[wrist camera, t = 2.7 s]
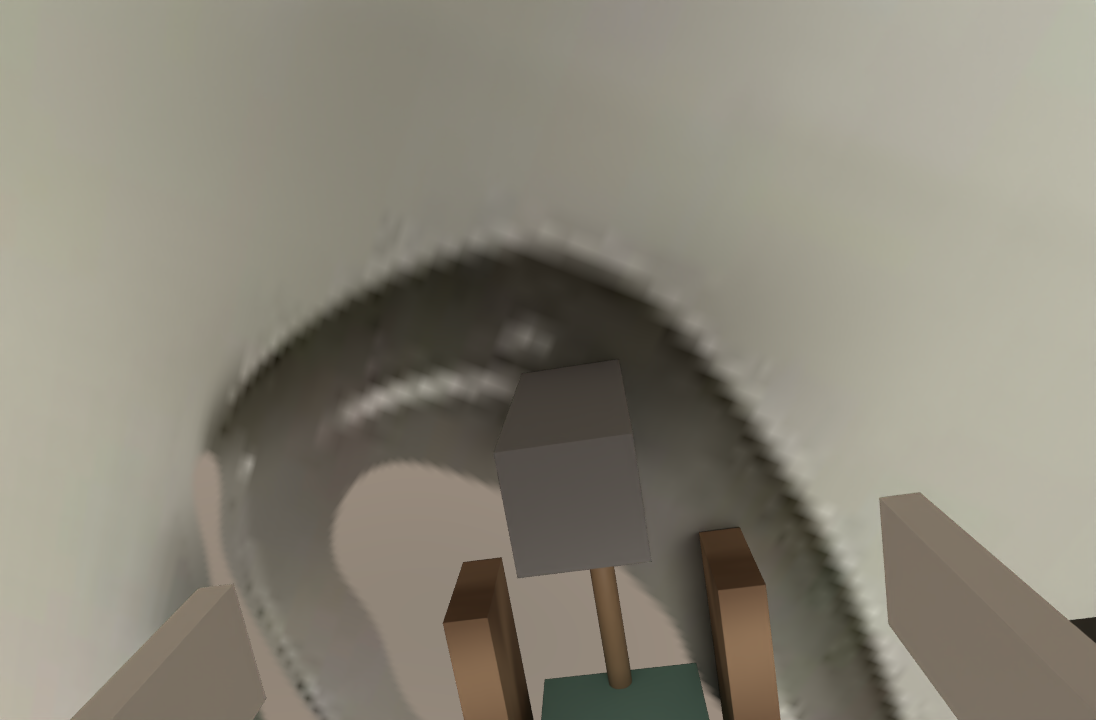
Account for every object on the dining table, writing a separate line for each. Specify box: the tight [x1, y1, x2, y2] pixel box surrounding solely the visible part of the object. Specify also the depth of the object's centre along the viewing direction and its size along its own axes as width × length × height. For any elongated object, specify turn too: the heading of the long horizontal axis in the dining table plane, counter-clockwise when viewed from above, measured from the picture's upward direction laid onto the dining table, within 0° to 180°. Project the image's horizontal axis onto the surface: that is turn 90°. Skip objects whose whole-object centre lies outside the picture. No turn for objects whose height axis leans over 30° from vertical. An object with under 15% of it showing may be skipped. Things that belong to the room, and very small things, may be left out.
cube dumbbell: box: [494, 359, 709, 720], centre depth 24 cm, size 18×6×8 cm, turn 9°
